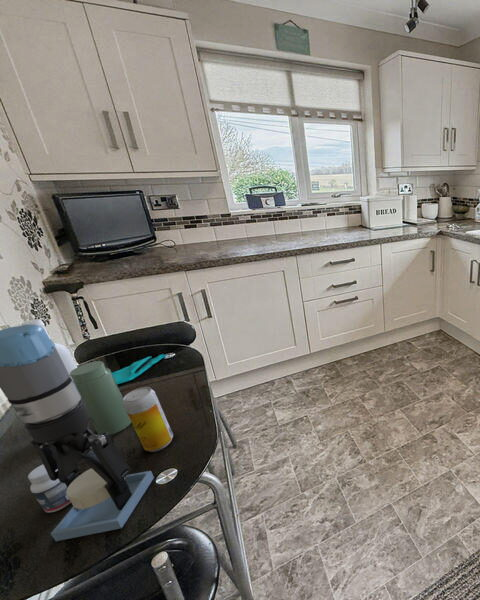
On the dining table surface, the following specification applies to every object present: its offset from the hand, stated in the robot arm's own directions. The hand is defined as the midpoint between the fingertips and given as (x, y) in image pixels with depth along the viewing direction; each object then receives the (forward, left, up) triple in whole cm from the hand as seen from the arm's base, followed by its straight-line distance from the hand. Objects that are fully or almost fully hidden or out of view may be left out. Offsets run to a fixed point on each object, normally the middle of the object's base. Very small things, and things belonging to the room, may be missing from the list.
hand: (107, 502), depth 65 cm
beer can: (+1, +17, -1) cm, 17 cm away
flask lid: (0, 0, +6) cm, 6 cm away
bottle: (-29, +35, -1) cm, 46 cm away
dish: (0, 0, -1) cm, 1 cm away
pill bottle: (-11, +4, -1) cm, 12 cm away
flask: (-15, +27, -1) cm, 31 cm away
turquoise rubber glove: (-29, +56, -1) cm, 63 cm away
